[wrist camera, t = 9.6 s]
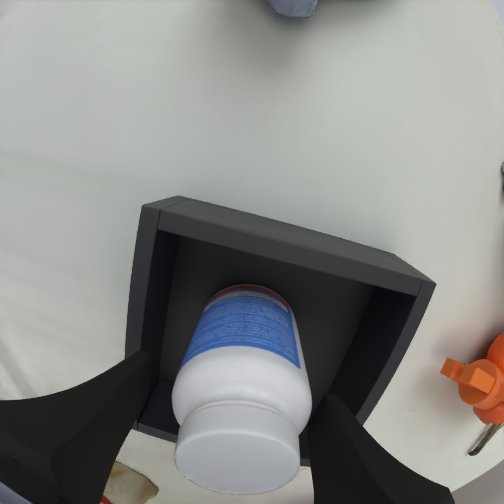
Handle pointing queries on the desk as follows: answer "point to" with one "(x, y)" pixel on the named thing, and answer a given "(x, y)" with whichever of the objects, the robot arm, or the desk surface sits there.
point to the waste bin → (282, 282)
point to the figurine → (293, 7)
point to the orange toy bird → (482, 382)
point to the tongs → (486, 438)
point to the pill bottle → (242, 394)
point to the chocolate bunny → (127, 487)
